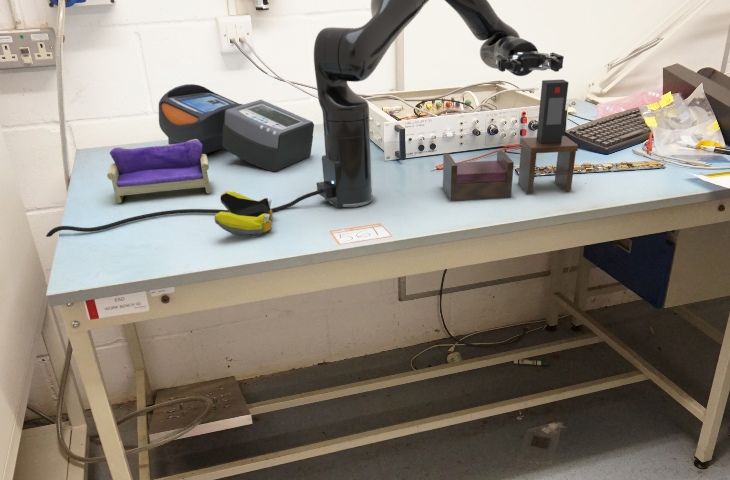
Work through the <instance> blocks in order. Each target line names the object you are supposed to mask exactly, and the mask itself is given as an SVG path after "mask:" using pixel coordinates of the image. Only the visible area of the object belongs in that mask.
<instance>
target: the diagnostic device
mask: <svg viewBox="0 0 730 480" xmlns="http://www.w3.org/2000/svg"><path fill="white" fill-rule="evenodd" d="M158 123H159V124H158V125H159V129H160V130H161V131H162V132H163V134H164V135H165V136H166V137H167V139H168V140H167V142H168V145H172V144H179V143H183V142H187V141H190V140H193V139H197V140H199V141H200V142H201V143H202V145H203V146H202V154H205V155H208V154H210V153H213V152H216V151H219V150H222V149H225V150H226V151H228V152H229V153H230V154H232V155H233V156H236V157H237V158H239V159H241V160H243V161H245V162H247V163H248V164H251V165H253V166H256V167H258V168H261V169H264V170H267V171H270V172H278V171H280V170H283V169H284V168H285V169H286V168H287V167H289V166H291V165H294V164H297V163H299V162H301V161H303V160H305V159H308V158H310V157H311V154H312V149H313V148H312V147H313V140H314V128H315V123H314V121H312V120H309V119H308V118H305V117H302V116H300V115H298V114H295V113H294V112H291V111H289V110H286V109H284V108H282V107H279V106H277V105H275V104H273V103H270V102H268V101H266V100H263V99H258V100H254V101H251V102H248V103H244V104H243V103H239V102H237V101H234V100H232V99H229V98H227V97H225V96H223V95H220V94H218V93H216V92H214V91H212V90H211V89H209V88H207V87H205V86H203V85H199V84H194V83H193V84H190V83H189V84H188V83H187V84H182V85H178V86H176V87H174V88H172V89H169V90H168V91H167V92H166V93H165V94H163V96H162V97H161V98H160V100H159V102H158ZM202 154H201V155H202Z"/></svg>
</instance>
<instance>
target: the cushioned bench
mask: <svg viewBox="0 0 730 480" xmlns="http://www.w3.org/2000/svg"><path fill="white" fill-rule="evenodd" d="M442 157H443V158H442V159H443V160H442V189H443V190H444V192H445V194H446V196H447V198H448V200H449V201H450V202H455V201H456V202H457V201H458V202H459V201H475V200H490V199H491V200H493V199H506V198H507V199H508V198H512V188H513V179H514V178H513V177H514V166H515V165H514V164H515V163H514V161H513V160H512V158H510V157H509V156H508V155H507V154H506V152H505V151H503V150H497V151H496V160H480V161H479V160H478V161H464V162H463V161H462V162H456V161H455V160H454V159H453V156H451V154H450V153H443V156H442Z"/></svg>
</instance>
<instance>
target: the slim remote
mask: <svg viewBox="0 0 730 480" xmlns="http://www.w3.org/2000/svg"><path fill="white" fill-rule="evenodd" d="M540 88H541V89H540V100H539V108H538V109H539V110H538V121H537V129H536V137H537V139H536V140H537V141H538V142H539V143H540V144H551V143H561V142H562V136H563V132H564V124H565V118H566V117H565V116H566V115H565V114H566V108H567V107H566V106H567V99H568V92H569V91H568V90H569V81H567V80H565V79H544V80H543V79H542V80H541V87H540Z"/></svg>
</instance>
